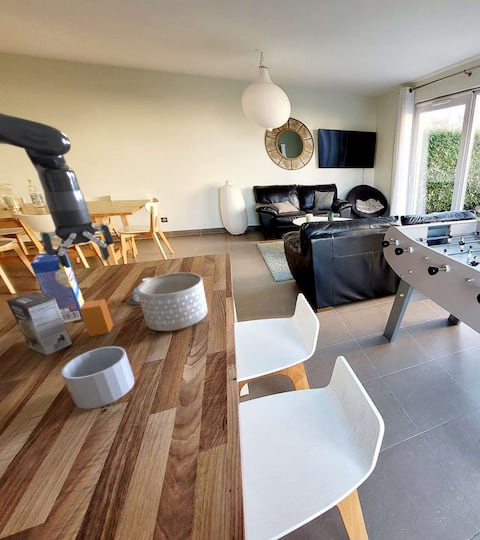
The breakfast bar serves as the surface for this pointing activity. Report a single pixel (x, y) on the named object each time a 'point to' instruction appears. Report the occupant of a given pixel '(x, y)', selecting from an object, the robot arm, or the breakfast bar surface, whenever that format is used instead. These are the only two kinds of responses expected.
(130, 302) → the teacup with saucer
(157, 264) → the breakfast bar surface
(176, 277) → the planter
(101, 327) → the juice carton
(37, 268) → the beverage box
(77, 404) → the ceramic bowl
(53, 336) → the coffee box
